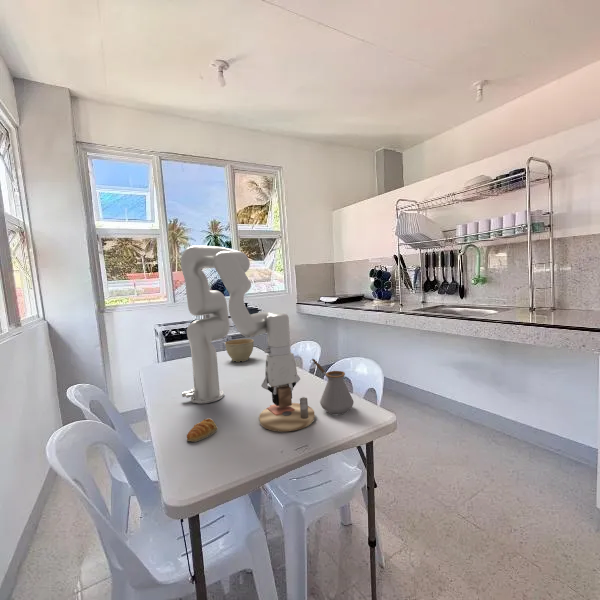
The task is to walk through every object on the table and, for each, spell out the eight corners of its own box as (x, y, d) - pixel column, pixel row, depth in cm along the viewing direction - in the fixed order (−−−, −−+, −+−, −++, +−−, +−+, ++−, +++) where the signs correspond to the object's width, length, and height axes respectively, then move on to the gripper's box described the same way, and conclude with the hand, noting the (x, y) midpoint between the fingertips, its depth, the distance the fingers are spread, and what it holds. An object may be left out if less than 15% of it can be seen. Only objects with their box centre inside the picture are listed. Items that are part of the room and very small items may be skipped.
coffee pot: (360, 411, 109) (359, 368, 108) (332, 420, 104) (330, 374, 103) (326, 392, 128) (324, 355, 127) (300, 399, 123) (298, 360, 121)
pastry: (198, 445, 93) (197, 432, 93) (180, 441, 96) (179, 429, 95) (219, 430, 101) (218, 418, 101) (202, 427, 104) (201, 416, 104)
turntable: (316, 429, 98) (315, 405, 97) (256, 433, 97) (255, 409, 97) (312, 405, 116) (311, 385, 115) (262, 408, 115) (260, 388, 114)
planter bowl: (260, 357, 188) (259, 339, 187) (242, 365, 174) (241, 345, 173) (239, 355, 196) (238, 337, 195) (220, 362, 182) (218, 343, 182)
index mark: (273, 410, 114) (273, 408, 114) (270, 406, 117) (270, 405, 117) (279, 408, 115) (279, 407, 115) (275, 405, 118) (275, 404, 118)
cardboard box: (280, 407, 107) (279, 389, 106) (273, 401, 112) (272, 384, 111) (291, 405, 108) (290, 387, 108) (284, 399, 114) (283, 382, 113)
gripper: (259, 356, 102) (263, 412, 103) (306, 348, 109) (309, 401, 111) (252, 351, 108) (255, 404, 110) (296, 344, 116) (299, 394, 117)
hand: (282, 402), depth 110 cm, fingers closed on cardboard box, 4 cm apart
